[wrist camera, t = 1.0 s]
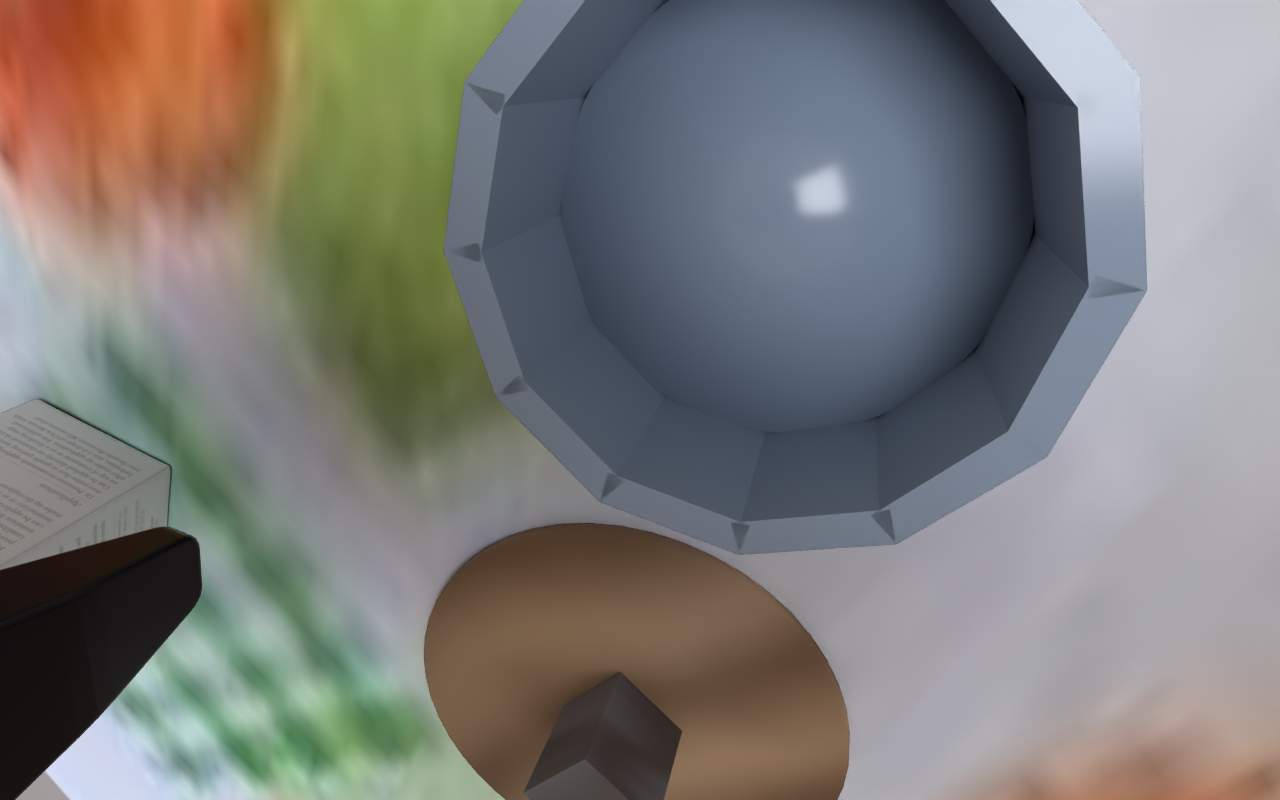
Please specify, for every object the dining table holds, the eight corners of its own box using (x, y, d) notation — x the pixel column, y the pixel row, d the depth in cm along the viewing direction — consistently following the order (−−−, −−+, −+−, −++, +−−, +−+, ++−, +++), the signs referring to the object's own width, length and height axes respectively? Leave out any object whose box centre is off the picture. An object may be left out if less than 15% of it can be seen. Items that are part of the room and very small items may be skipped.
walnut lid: (950, 766, 23) (967, 902, 20) (634, 892, 30) (601, 1009, 27) (619, 431, 22) (568, 509, 18) (364, 646, 29) (289, 736, 25)
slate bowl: (1190, 234, 16) (1318, 300, 11) (761, 519, 21) (734, 637, 17) (812, -230, 14) (787, -364, 10) (461, 205, 20) (345, 245, 15)
